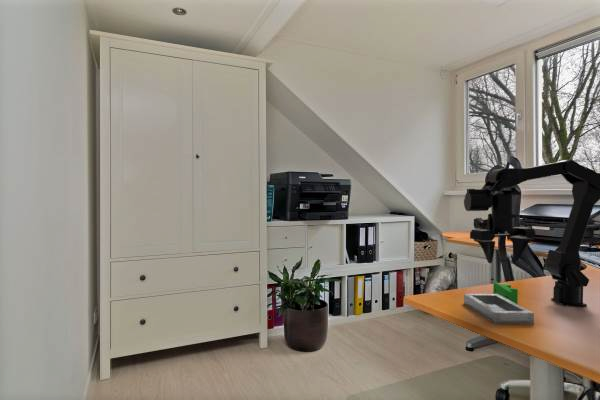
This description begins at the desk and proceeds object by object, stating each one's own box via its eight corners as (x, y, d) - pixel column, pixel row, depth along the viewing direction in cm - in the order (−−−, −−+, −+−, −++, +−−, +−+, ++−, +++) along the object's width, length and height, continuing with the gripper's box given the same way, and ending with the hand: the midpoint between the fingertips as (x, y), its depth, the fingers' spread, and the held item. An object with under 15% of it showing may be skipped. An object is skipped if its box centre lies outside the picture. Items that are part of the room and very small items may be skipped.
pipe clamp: (522, 307, 106) (522, 292, 106) (508, 307, 107) (508, 291, 107) (505, 296, 118) (505, 282, 117) (493, 295, 118) (493, 281, 118)
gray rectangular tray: (497, 303, 110) (497, 293, 109) (533, 324, 93) (534, 313, 92) (463, 303, 110) (464, 293, 109) (493, 323, 93) (494, 312, 92)
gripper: (507, 208, 121) (508, 255, 121) (457, 210, 117) (458, 259, 117) (536, 209, 110) (537, 261, 110) (482, 212, 106) (483, 266, 106)
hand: (502, 262), depth 111 cm, fingers open, 9 cm apart
